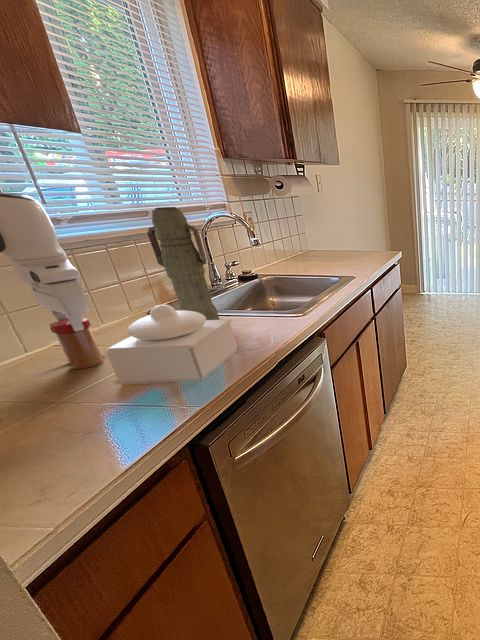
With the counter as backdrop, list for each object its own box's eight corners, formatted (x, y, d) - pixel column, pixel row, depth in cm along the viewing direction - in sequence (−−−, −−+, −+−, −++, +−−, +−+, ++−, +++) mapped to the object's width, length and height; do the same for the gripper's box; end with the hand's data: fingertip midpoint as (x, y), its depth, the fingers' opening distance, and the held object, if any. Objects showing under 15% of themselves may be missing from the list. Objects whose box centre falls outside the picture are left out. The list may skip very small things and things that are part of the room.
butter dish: (168, 353, 105) (147, 294, 98) (240, 350, 106) (223, 292, 99) (120, 385, 89) (90, 317, 82) (204, 380, 90) (181, 313, 83)
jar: (65, 367, 98) (46, 326, 93) (94, 358, 103) (77, 319, 99) (80, 370, 96) (61, 329, 92) (109, 361, 101) (92, 321, 97)
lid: (47, 335, 91) (44, 328, 91) (58, 327, 97) (54, 320, 96) (86, 330, 94) (83, 323, 94) (94, 322, 100) (91, 315, 99)
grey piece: (187, 329, 122) (146, 207, 107) (230, 325, 125) (196, 205, 110) (176, 339, 114) (130, 209, 99) (223, 335, 117) (184, 207, 102)
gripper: (9, 268, 92) (38, 325, 98) (42, 277, 83) (71, 338, 88) (46, 263, 97) (72, 317, 103) (81, 271, 88) (106, 330, 93)
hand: (72, 327), depth 95 cm, fingers closed on lid, 6 cm apart
